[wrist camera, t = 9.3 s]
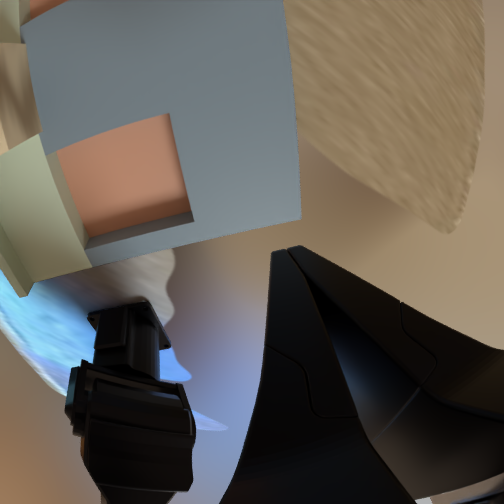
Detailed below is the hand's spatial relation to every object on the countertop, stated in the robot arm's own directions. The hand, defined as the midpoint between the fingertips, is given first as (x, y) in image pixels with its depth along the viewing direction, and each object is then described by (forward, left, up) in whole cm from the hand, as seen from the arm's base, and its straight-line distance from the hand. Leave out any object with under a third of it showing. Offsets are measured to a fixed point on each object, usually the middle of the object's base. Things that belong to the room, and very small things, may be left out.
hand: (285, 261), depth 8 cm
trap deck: (+8, +7, -12) cm, 16 cm away
